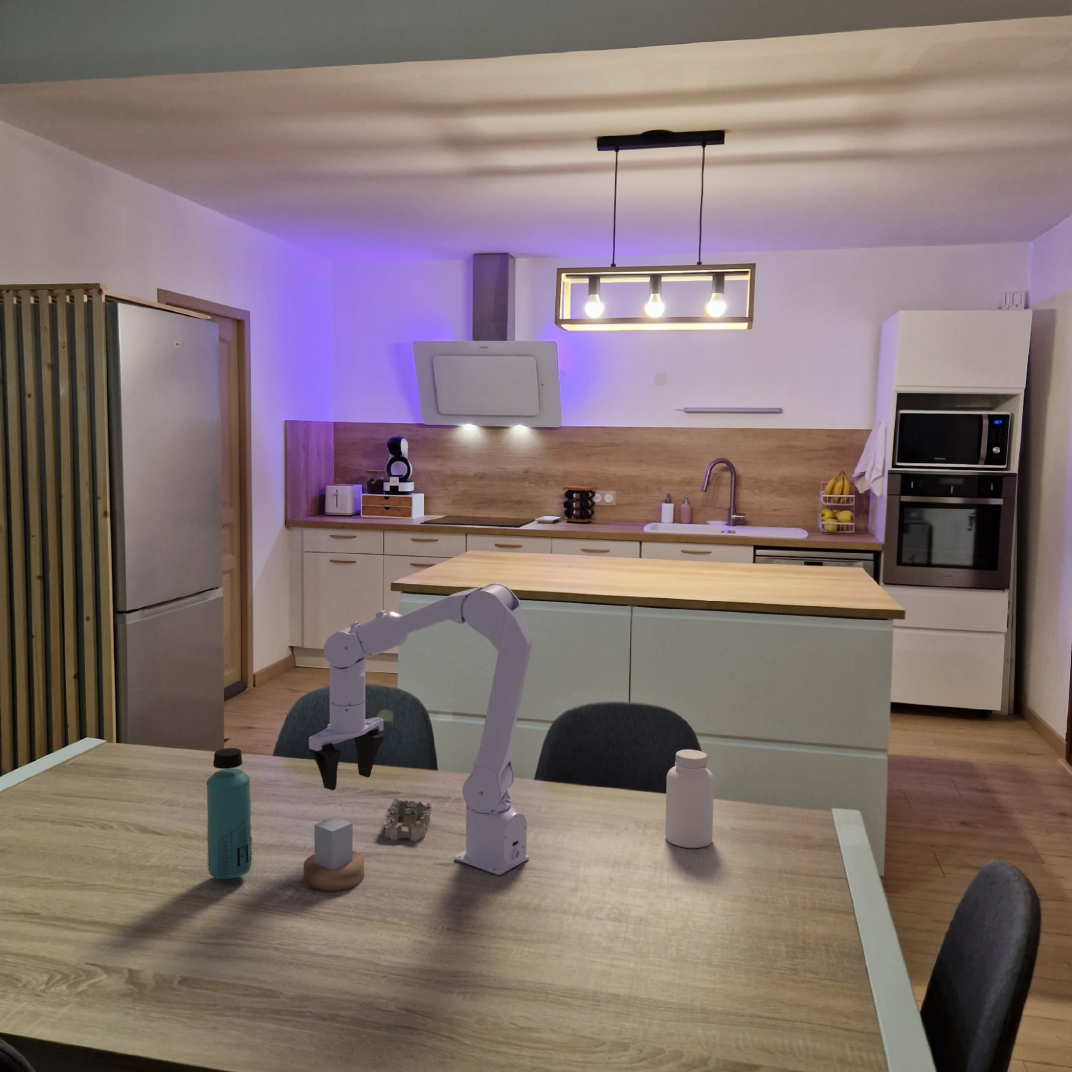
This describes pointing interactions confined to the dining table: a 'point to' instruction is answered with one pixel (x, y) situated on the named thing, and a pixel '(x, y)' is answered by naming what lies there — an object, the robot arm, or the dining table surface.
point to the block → (333, 843)
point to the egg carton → (407, 820)
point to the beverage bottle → (228, 817)
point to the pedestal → (333, 874)
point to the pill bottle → (689, 801)
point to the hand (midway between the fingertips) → (347, 782)
